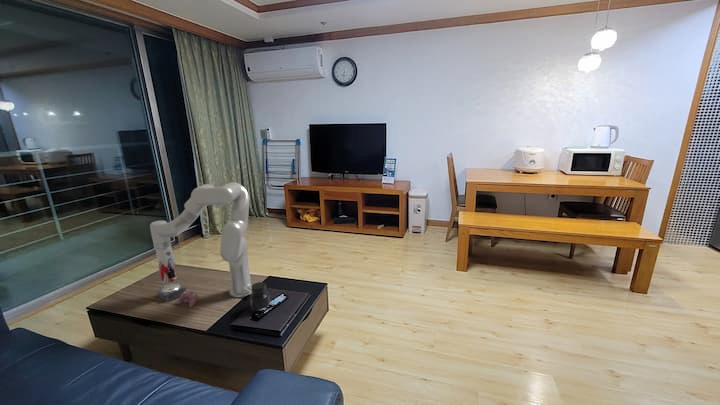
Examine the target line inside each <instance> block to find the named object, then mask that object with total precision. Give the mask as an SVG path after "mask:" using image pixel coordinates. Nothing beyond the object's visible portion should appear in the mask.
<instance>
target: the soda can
mask: <svg viewBox="0 0 720 405" xmlns="http://www.w3.org/2000/svg"><path fill="white" fill-rule="evenodd" d="M169 265H170V264H168V265H167V266H169ZM174 266H175V267H174V271H175V277H174V278H171V279H169V278H168V273H167V272H168V270H167V267H164V265H163V264H162V263H161V262H160V261H159V263H158V270H159V275H160V276H159V278H160V281H161V283H162V284H165V285H169V284H172V283H175V282H176V280H177V272H176V264H175V265H174ZM170 268H171V266H170V267H169V269H170Z"/></svg>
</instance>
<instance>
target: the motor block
mask: <svg viewBox="0 0 720 405" xmlns="http://www.w3.org/2000/svg"><path fill="white" fill-rule="evenodd" d="M156 292H157V297H158V298H160V299H161V300H163V301H164V302H166V303H169V302H171V301H173V300H175V299H179V297H180V296H181V294H182V293H183V292H187V288H186V286H185V285H183V284H181V283H179V282H178V281H174V282H172V283H169V284H163V285H162V286H161V287H160V288H158V289H157V290H156Z"/></svg>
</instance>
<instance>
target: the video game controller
mask: <svg viewBox="0 0 720 405" xmlns="http://www.w3.org/2000/svg"><path fill="white" fill-rule="evenodd" d="M198 298H199V295H198V294H197V293H195V292H193V291H191V290H188V291H187V290H186V292H183V293H182V294H181V296H180V297H178V298H177V300H176V304H177V305H180V304H181V303H182V302H184V303H189V306H188V307H189V308H192V307H194V305H196V302H197V300H198Z"/></svg>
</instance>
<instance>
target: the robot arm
mask: <svg viewBox="0 0 720 405" xmlns="http://www.w3.org/2000/svg"><path fill="white" fill-rule="evenodd" d="M228 204H231V208H230V217H229V221H228V222H227V223H226V224H225V225H224V227H223V228H222V231H221V238H220V247H219V254H220V257H221V258H222V260H223V261H225V262H228V267H229V273H230V281H231V289H230V290H229V295H230V296H231V297H233V298H243V297H246V296H249V295H252V291H251V286H252V285H253V284H252V282H251V274H250V266H249V265H250V264H249V255H248V253H249V252H248V250H249V249H248V246H249V245H248V241H247V239H246V238H245V237H244V235H245V233H246V232H247V230H248V226H249V214H250V212H249V211H250V195H249V193H248V190H247V189H246V188H245V187H244V186H243V185H242V184H240V183H238V182H228V183H226V184H224V185H222V186H219V187H218V186H216V187H215V186H214V185H212V184H209V183H207V184H206V183H205V184H202V185H200V186H198V187H195V188H194V189H193V190H192V191H191V194H190V197H189V199H188V200H187V201H186V202H184V205H183V206H184V210H183V211H182V212H181V213H180V214H179V215H178V216H177V217H176V218H175V219H173V220H171V221H169V222H167V221H166V220H156V221H152V222H151V223H150V224H149V229H150V234H151V239H152V243H153V248H154V250H155V254H156V259H157V263H158V264H159V261H160V262H161V263H162V264H163V265H164V267H167V270H168V272H167V273H168V278H169V279H171V278H174V277H175V271H174V267H175V268H176V258H175V254H174V251H173V248H172V241H171V238H176V237H177V236H179V235H180V234H182V233H184V232H185V231H186V230H188V228H189V227H190V226H191V225H192V224H193V223H194V222H195V221H196V220H197V219H198V218H199V216H200V215H201V214H202V213H203V211H205V209H206V208H207V207H208V206H218V205H228ZM168 264H170V265H169V266H167V265H168ZM174 265H175V266H174ZM170 266H171V268H170V269H169V267H170Z"/></svg>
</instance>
